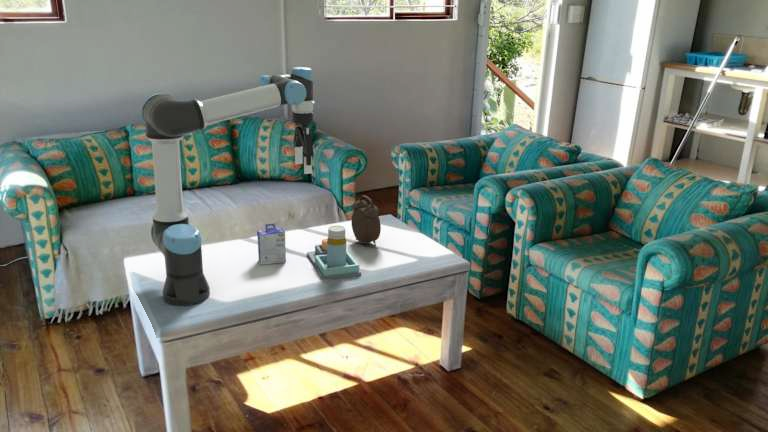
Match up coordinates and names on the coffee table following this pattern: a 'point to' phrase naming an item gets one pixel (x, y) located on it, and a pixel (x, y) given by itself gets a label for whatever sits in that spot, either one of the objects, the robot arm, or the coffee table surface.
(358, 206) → the alarm clock
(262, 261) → the ink cartridge box
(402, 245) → the coffee table surface
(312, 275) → the coffee table surface
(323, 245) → the button
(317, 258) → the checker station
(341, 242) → the bottle
